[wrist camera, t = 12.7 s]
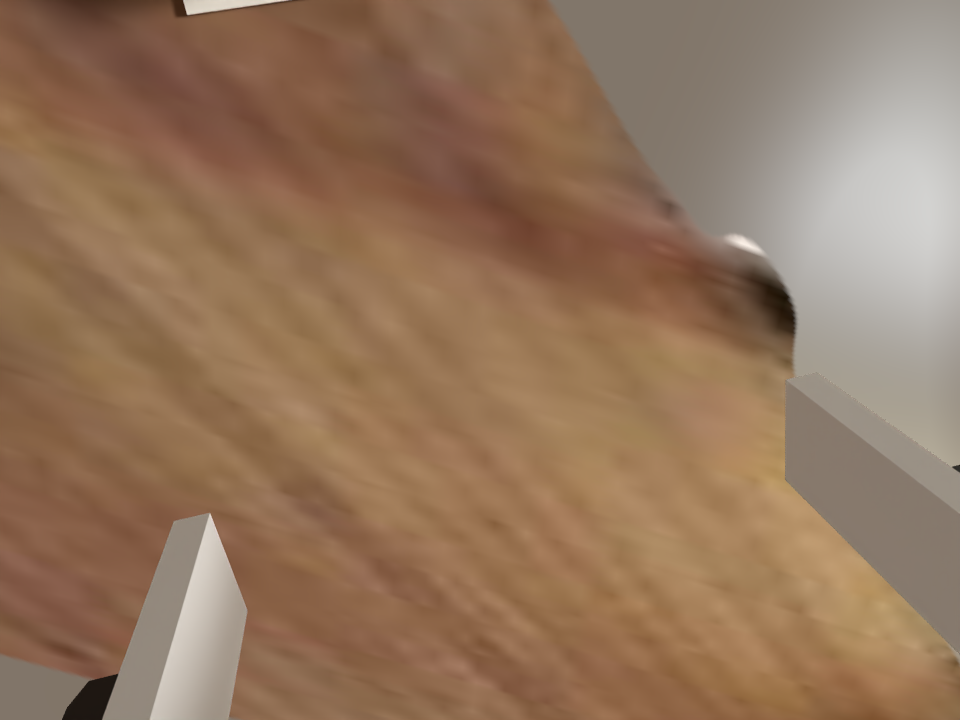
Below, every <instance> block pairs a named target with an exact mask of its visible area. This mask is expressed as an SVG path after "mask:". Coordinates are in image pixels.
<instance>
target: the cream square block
mask: <svg viewBox="0 0 960 720" xmlns="http://www.w3.org/2000/svg"><path fill="white" fill-rule="evenodd" d="M183 1H184V5H185V9H186V12H187V15H195V14H201V13H208V12H215V11H222V10H229V9H236V8H242V7H249V6H256V5H263V4H270V3H277V2H283V1H290V0H183Z"/></svg>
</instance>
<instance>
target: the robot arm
mask: <svg viewBox="0 0 960 720" xmlns="http://www.w3.org/2000/svg"><path fill="white" fill-rule="evenodd" d="M785 480H786V481H787V482H788V483H789V484H790V485H791V486H792V487H793V488H794V489H795V490H796V491H797V492H798V493H799V494H800V495H801V496H802V497H803V498H804V499H805V500H806V501H807V502H808V503H809V504H810V505H811V506H812V507H813V508H814V509H815V510H816V511H817V512H818V513H819V514H820V515H821V516H822V517H823V518H824V519H825V520H826V521H827V522H828V523H829V524H830V525H831V526H832V527H833V528H834V529H835V530H836V531H837V532H838V533H839V534H840V535H841V536H842V537H843V538H844V539H845V540H846V541H847V542H848V543H849V544H850V545H851V546H852V547H853V548H854V549H855V550H856V551H857V552H858V553H859V554H860V555H861V556H862V557H863V558H864V559H865V560H866V561H867V562H868V563H869V564H870V565H871V566H872V567H873V568H874V569H875V570H876V571H877V572H878V573H879V574H880V575H881V576H882V577H883V578H884V579H885V580H886V581H887V582H888V583H889V584H890V585H891V586H892V587H893V588H894V589H895V590H896V591H897V592H898V593H899V594H900V595H901V596H902V597H903V598H904V599H905V600H906V601H907V602H908V603H909V604H910V605H911V606H912V607H913V608H914V609H915V610H916V611H917V612H918V613H919V614H920V615H921V616H922V617H923V618H924V619H925V620H926V621H927V622H928V623H929V624H930V625H931V626H932V627H933V628H934V629H935V630H936V631H937V632H938V633H939V634H940V635H941V636H942V637H943V638H944V639H945V640H946V641H947V642H948V643H949V644H950V645H951V646H952V647H953V648H954V649H955V650H956V651H957V652H958V653H959V654H960V465H958V466H953V467H950V466H949V465H948V464H946V463H945V462H943V461H942V460H941V459H939V458H938V457H937V456H935V455H934V454H932V453H931V452H929V451H928V450H927V449H925V448H924V447H922V446H921V445H919V444H918V443H917V442H915V441H914V440H912V439H911V438H909V437H908V436H907V435H905V434H904V433H902V432H901V431H900V430H898V429H897V428H895V427H894V426H892V425H891V424H890V423H888V422H887V421H885V420H884V419H882V418H881V417H880V416H878V415H877V414H875V413H874V412H873V411H871V410H870V409H868V408H867V407H865V406H864V405H862V404H861V403H860V402H858V401H857V400H856V399H854V398H853V397H851V396H850V395H848V394H847V393H846V392H844V391H843V390H841V389H840V388H838V387H837V386H836V385H834V384H833V383H831V382H830V381H828V380H827V379H826V378H824V377H823V376H821V375H820V374H819V373H812V374H809V375H804V376H799V377H795V378H791V379H786V423H785ZM246 616H247V608H246V605H245V603H244V600H243V598H242V595H241V592H240V590H239V587H238V585H237V582H236V579H235V577H234V574H233V572H232V569H231V566H230V564H229V561H228V559H227V556H226V553H225V551H224V548H223V546H222V543H221V540H220V538H219V535H218V533H217V530H216V527H215V525H214V522H213V520H212V517H211V514H210V513H207V514H203V515H199V516H194V517H190V518H186V519H181V520H177V521H174V522H173V525H172V528H171V531H170V533H169V536H168V539H167V542H166V545H165V547H164V550H163V553H162V556H161V558H160V561H159V564H158V567H157V569H156V572H155V575H154V578H153V580H152V583H151V586H150V589H149V592H148V594H147V597H146V600H145V603H144V605H143V608H142V611H141V614H140V616H139V619H138V622H137V625H136V627H135V630H134V633H133V636H132V638H131V641H130V644H129V647H128V650H127V652H126V655H125V658H124V661H123V663H122V666H121V669H120V672H119V674H116V675H112V676H108V677H104V678H100V679H95V680H91V681H89V682H88V683H87V684H86V685H85V687H84V688H83V689H82V690H81V692H80V693H79V694H78V695H77V696H76V698H75V699H74V700H73V701H72V702H71V704H70V705H69V706H68V707H67V709H66V711H65V714H64V716H63V718H62V720H228V719H229V713H230V707H231V702H232V696H233V690H234V684H235V679H236V673H237V667H238V662H239V656H240V650H241V645H242V639H243V633H244V628H245V622H246Z"/></svg>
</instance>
